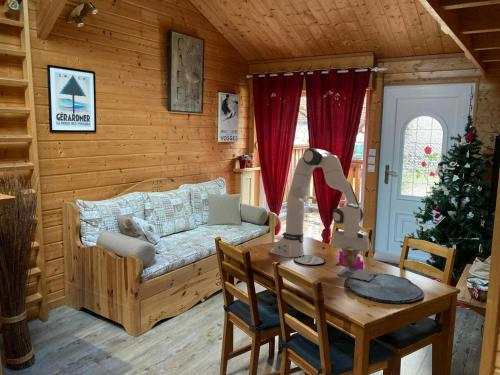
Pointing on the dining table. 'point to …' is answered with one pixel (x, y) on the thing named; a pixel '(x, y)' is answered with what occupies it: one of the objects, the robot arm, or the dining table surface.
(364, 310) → the dining table surface
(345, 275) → the mat
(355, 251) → the walnut block
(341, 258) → the toy block
